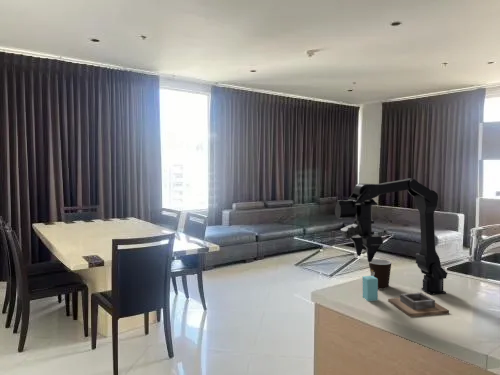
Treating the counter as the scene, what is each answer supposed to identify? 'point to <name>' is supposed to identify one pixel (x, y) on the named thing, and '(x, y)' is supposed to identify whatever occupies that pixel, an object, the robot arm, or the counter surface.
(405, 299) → the well block
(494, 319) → the counter surface
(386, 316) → the counter surface
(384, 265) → the coffee mug
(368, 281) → the teal post
